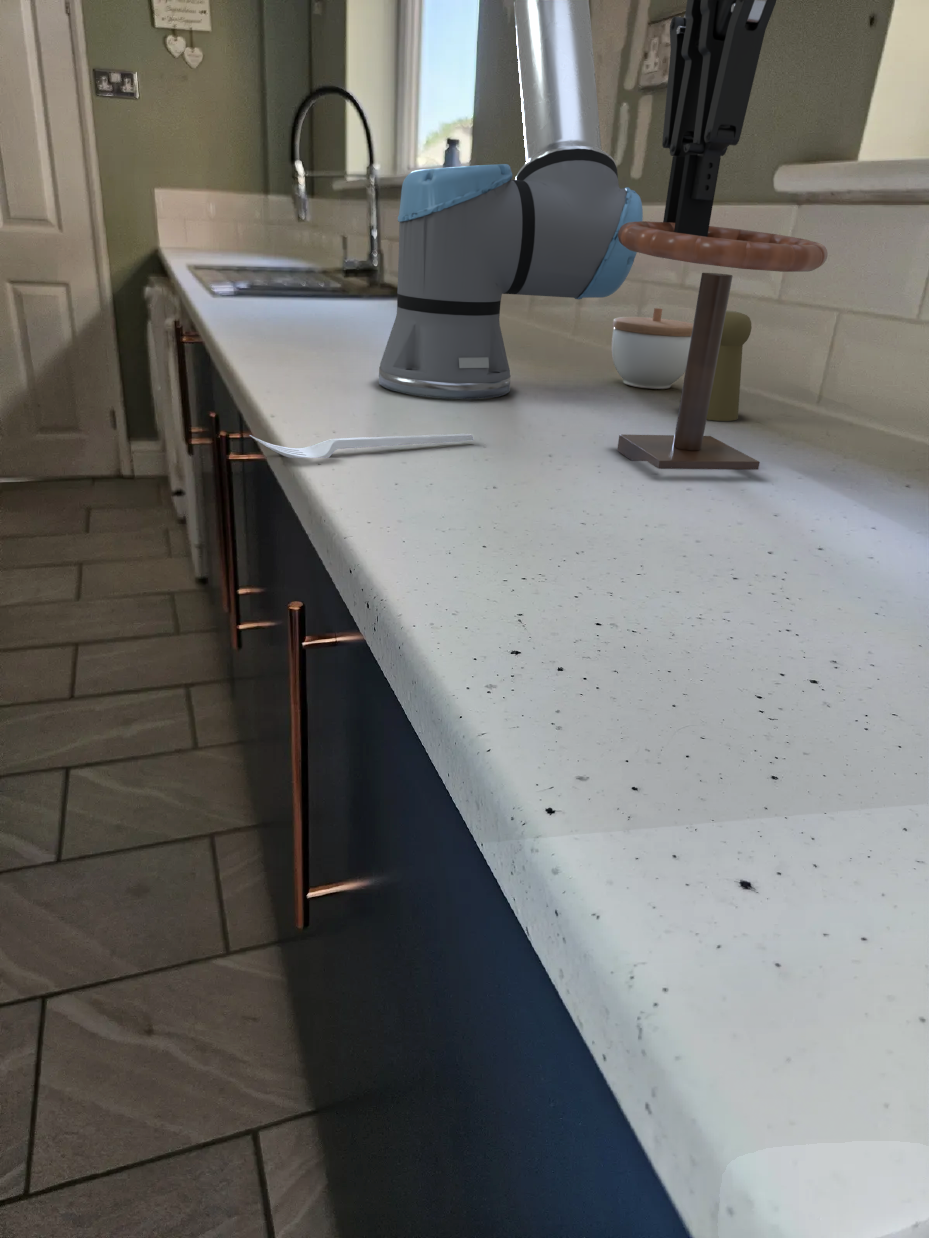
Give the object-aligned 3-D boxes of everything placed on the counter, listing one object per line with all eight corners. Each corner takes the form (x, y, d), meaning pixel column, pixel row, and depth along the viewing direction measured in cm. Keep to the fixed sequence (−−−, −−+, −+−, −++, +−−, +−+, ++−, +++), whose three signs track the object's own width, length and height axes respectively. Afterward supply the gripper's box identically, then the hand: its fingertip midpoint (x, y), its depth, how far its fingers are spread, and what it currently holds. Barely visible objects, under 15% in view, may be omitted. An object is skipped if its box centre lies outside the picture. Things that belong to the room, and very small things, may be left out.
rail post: (616, 450, 79) (642, 267, 72) (707, 451, 81) (740, 273, 74) (656, 478, 71) (690, 275, 64) (756, 479, 73) (798, 281, 66)
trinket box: (596, 375, 117) (605, 301, 113) (673, 379, 118) (684, 306, 115) (617, 390, 107) (628, 310, 104) (701, 394, 109) (714, 315, 105)
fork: (481, 448, 76) (483, 426, 76) (262, 467, 66) (261, 443, 66) (462, 439, 79) (463, 418, 78) (248, 456, 69) (247, 433, 68)
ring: (589, 239, 73) (592, 215, 72) (761, 252, 76) (766, 230, 76) (662, 264, 60) (667, 236, 59) (866, 279, 63) (874, 252, 62)
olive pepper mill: (740, 423, 94) (761, 316, 89) (683, 417, 95) (701, 311, 90) (735, 412, 99) (755, 311, 95) (682, 407, 100) (699, 306, 96)
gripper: (650, -84, 69) (610, 237, 79) (740, -149, 56) (678, 245, 66) (736, -71, 71) (686, 242, 81) (842, -131, 58) (767, 251, 68)
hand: (682, 243), depth 74 cm, fingers closed on ring, 2 cm apart
